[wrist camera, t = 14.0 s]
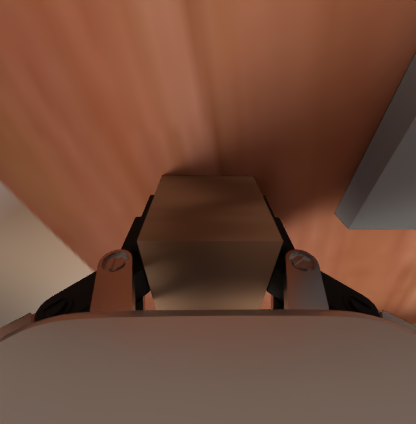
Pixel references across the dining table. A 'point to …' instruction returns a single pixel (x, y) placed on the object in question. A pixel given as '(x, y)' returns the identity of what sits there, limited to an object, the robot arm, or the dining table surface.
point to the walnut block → (208, 243)
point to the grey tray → (387, 169)
